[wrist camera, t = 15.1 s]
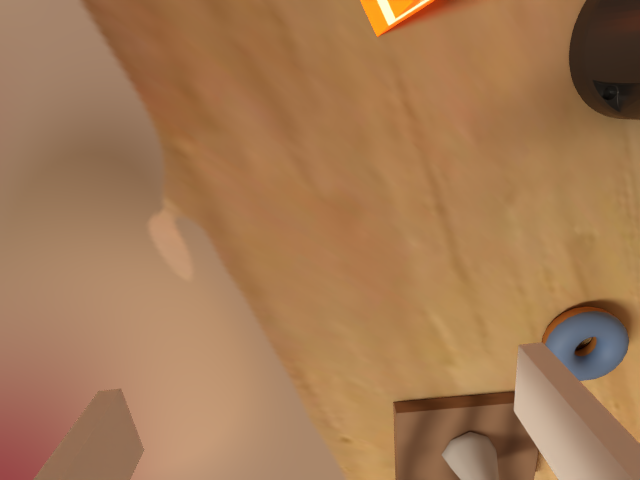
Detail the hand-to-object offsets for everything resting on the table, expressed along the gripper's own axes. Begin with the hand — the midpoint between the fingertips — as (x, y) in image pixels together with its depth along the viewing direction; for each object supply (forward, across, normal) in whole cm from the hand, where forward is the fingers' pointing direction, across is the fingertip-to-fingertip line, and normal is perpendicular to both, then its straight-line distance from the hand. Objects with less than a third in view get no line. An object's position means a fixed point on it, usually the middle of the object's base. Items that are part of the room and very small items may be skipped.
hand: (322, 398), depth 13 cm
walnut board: (+31, +17, -39) cm, 53 cm away
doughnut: (+32, +32, -23) cm, 51 cm away
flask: (+30, +17, -39) cm, 52 cm away
